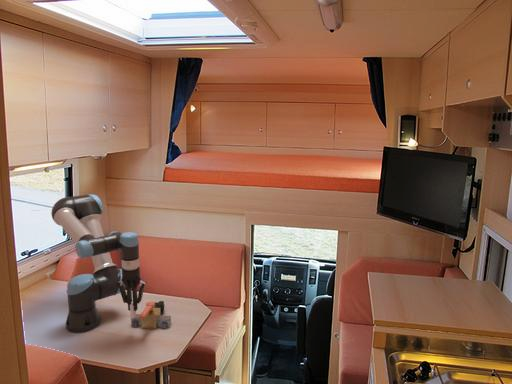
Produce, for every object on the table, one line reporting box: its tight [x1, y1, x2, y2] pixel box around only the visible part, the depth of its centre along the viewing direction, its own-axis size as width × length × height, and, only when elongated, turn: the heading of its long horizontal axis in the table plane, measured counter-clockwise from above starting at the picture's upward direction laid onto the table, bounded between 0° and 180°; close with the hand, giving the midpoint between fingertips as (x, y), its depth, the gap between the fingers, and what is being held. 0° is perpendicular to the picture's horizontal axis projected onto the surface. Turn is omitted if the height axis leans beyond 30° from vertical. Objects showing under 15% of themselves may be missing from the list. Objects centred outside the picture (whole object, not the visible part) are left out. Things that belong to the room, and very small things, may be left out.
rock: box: [154, 300, 165, 315], centre depth 201 cm, size 9×10×6 cm
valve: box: [130, 308, 172, 330], centre depth 192 cm, size 18×7×9 cm, turn 86°
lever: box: [139, 301, 156, 319], centre depth 186 cm, size 14×4×2 cm, turn 176°
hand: (133, 316), depth 182 cm, fingers closed
